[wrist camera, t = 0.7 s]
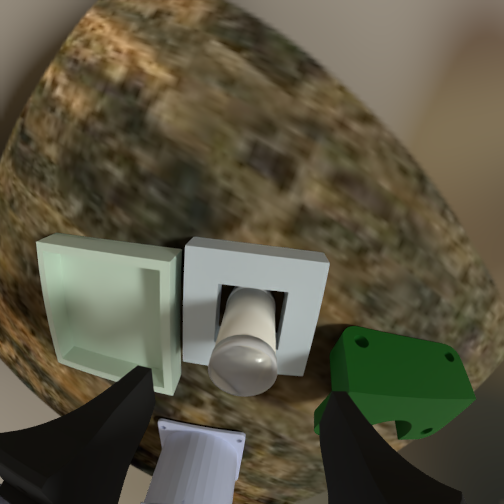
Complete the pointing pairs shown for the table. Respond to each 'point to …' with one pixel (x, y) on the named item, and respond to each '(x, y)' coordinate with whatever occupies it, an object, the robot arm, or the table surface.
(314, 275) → the grey square frame
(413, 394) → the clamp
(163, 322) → the parts tray
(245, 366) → the cylinder
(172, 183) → the table surface
